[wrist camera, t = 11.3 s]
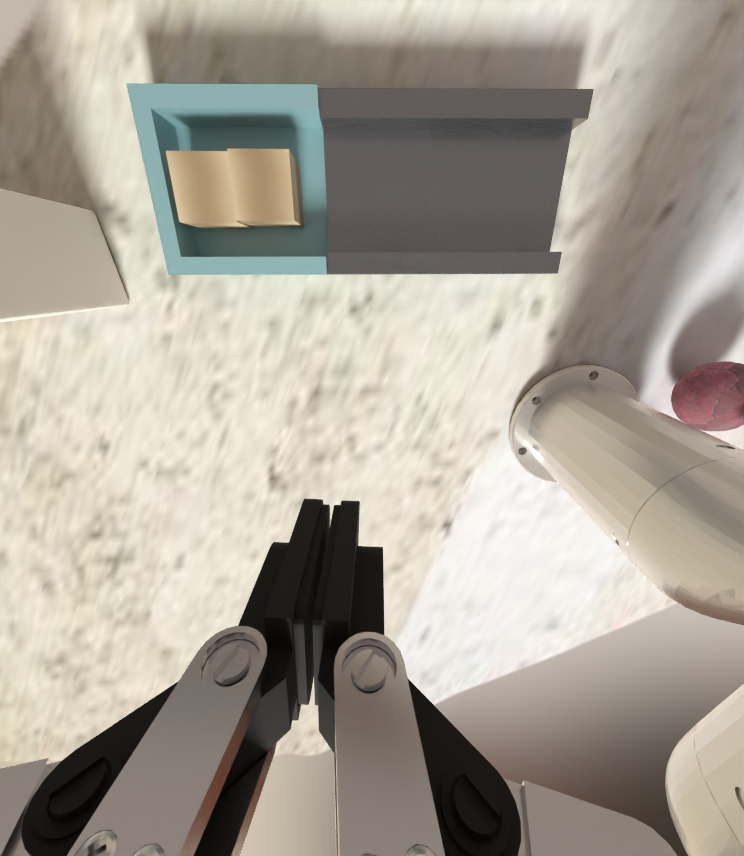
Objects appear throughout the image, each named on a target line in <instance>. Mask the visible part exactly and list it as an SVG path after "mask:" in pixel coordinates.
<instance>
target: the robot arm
mask: <svg viewBox="0 0 744 856" xmlns="http://www.w3.org/2000/svg"><path fill="white" fill-rule="evenodd" d="M533 398H534V399H533ZM509 440H510V446H511V449H512V452H513V454H514V456H515V458H516V459H517V460H518V462H519V463H520V464H521V465H522V466H523V468H524V469H525V470H526V471H527V472H529V473H531V474H532V475H534V476H535V477H538V478H540V479H543V480H546V481H552V482H558V483H559V484H560V485H561V486H562V487H563V488H564V489H565V491H566V492H567V493H568V494H569V495H570V496H571V497H572V498H573V499H574V500H575V501H576V502H577V503H578V505H579V506H580V507H581V508H582V509H583V510H584V511H585V512H586V513H587V514H588V515H589V516H590V517H591V518H592V520H593V521H594V522H595V523H596V524H597V525H598V526H599V527H600V528H601V529H602V530H603V531H604V532H605V534H606V535H607V536H608V537H609V538H610V539H611V540H612V541H613V542H614V543H615V544H616V545H617V546H618V547H619V549H620V550H621V551H622V552H623V553H624V554H625V555H626V556H627V557H628V558H629V559H630V560H631V561H632V563H633V564H634V565H635V566H636V567H637V568H638V569H639V570H640V571H641V572H642V573H643V574H644V575H645V576H646V577H647V578H648V579H649V580H650V581H651V582H652V583H653V584H654V585H655V586H656V587H657V588H658V589H659V590H660V591H662V592H663V593H664V594H666V595H667V596H668V597H669V598H671V599H673V600H674V601H676V602H677V603H679V604H681V605H683V606H684V607H686V608H688V609H691V610H693V611H695V612H698V613H700V614H703V615H706V616H709V617H712V618H716V619H719V620H724V621H728V622H732V623H736V624H741V625H744V450H742V449H740V448H737V447H735V446H733V445H731V444H729V443H727V442H724V441H722V440H720V439H718V438H716V437H714V436H711V435H709V434H707V433H705V432H703V431H700V430H698V429H696V428H694V427H692V426H690V425H687V424H685V423H683V422H681V421H679V420H677V419H674V418H672V417H670V416H668V415H666V414H664V413H661V412H659V411H657V410H655V409H653V408H651V407H648V406H646V405H644V404H642V403H640V402H639V398H638V394H637V393H636V391H635V389H634V387H633V385H632V384H631V383H630V382H629V381H628V380H627V379H626V378H625V377H623V376H622V375H620V374H619V373H617V372H615V371H612V370H610V369H607V368H604V367H600V366H595V365H578V366H573V367H568V368H565V369H562V370H559V371H556V372H554V373H552V374H551V375H549V376H547V377H545V378H543V379H542V380H541V381H539V382H538V383H537V384H536V385H534V386H533V387H532V388H531V389H530V390H529V391H528V392H527V393H526V394H525V395H524V397H523V398H522V400H521V401H520V403H519V404H518V406H517V408H516V410H515V412H514V414H513V416H512V420H511V424H510V430H509ZM359 505H360V502H359V501H342V502H341V505H334V510H333V515H332V520H331V525H330V507H329V505H323V500H319V499H304V501H303V503H302V506H301V509H300V512H299V515H298V518H297V521H296V524H295V527H294V530H293V533H292V536H291V539H290V542H289V543H280V542H274V543H273V544H272V545H271V547H270V549H269V552H268V554H267V556H266V559H265V561H264V564H263V566H262V569H261V571H260V574H259V576H258V579H257V581H256V584H255V586H254V588H253V591H252V593H251V596H250V598H249V601H248V603H247V606H246V608H245V611H244V613H243V616H242V618H241V620H240V623H239V625H238V626H235V627H231V628H227V629H225V630H223V631H221V632H219V633H217V634H215V635H214V636H213V637H211V638H210V639H209V640H208V641H206V642H205V644H204V645H203V646H202V647H201V649H200V650H199V651H198V652H197V654H196V655H195V657H194V659H193V660H192V662H191V663H190V665H189V666H188V668H187V669H186V671H185V673H184V674H183V676H182V677H181V679H180V680H179V681H178V682H177V683H175V684H174V685H172V686H171V687H169V688H168V689H166V690H165V691H163V692H162V693H160V694H159V695H157V696H156V697H154V698H153V699H151V700H150V701H148V702H147V703H145V704H144V705H142V706H141V707H139V708H138V709H136V710H135V711H133V712H132V713H130V714H129V715H127V716H126V717H124V718H123V719H121V720H120V721H118V722H117V723H115V724H114V725H112V726H111V727H109V728H108V729H106V730H105V731H103V732H102V733H100V734H99V735H97V736H96V737H94V738H93V739H91V740H90V741H88V742H87V743H85V744H84V745H82V746H81V747H79V748H78V749H76V750H75V751H74V752H73V753H71V754H70V755H69V756H68V757H66V758H65V759H64V760H63V761H59V762H55V763H51V761H50V759H49V758H47V759H43V760H38V761H34V762H29V763H25V764H20V765H16V766H11V767H7V768H2V769H0V856H240V853H241V850H242V847H243V844H244V841H245V838H246V835H247V832H248V829H249V827H250V824H251V821H252V818H253V815H254V812H255V809H256V806H257V803H258V800H259V797H260V794H261V791H262V788H263V786H264V783H265V780H266V777H267V774H268V771H269V768H270V765H271V762H272V759H273V756H274V753H275V749H276V744H277V741H278V740H280V739H281V738H282V737H283V736H284V735H285V734H286V733H287V732H288V731H289V730H290V729H291V723H292V720H298V718H299V712H300V707H301V704H305V705H308V704H309V701H310V696H311V690H312V683H313V677H314V686H315V705H318V712H319V731H320V733H321V734H322V736H323V737H324V739H325V740H326V742H327V743H328V745H329V746H330V748H331V749H332V751H333V752H334V783H335V823H336V824H335V825H336V856H677V855H676V853H675V852H674V851H673V849H672V848H671V847H670V845H669V844H668V843H667V842H666V841H665V840H664V839H663V838H661V836H659V835H658V834H657V833H656V832H655V831H654V830H653V829H652V828H651V827H649V826H647V825H645V824H643V823H642V822H640V821H638V820H636V819H634V818H631V817H628V816H626V815H623V814H620V813H617V812H614V811H611V810H608V809H606V808H603V807H600V806H597V805H594V804H590V803H588V802H585V801H582V800H579V799H576V798H574V797H571V796H567V795H565V794H562V793H559V792H556V791H553V790H550V789H547V788H544V787H542V786H539V785H536V784H533V783H530V782H527V781H523V783H522V785H520V784H517V783H514V782H512V781H509V780H505V779H503V778H502V777H501V775H500V774H499V773H498V771H497V770H496V769H495V768H494V767H493V766H492V765H491V764H490V763H489V762H488V761H487V760H486V759H485V758H484V757H483V756H482V755H481V754H480V753H479V751H477V750H476V748H475V747H473V745H472V744H471V743H470V742H469V741H468V740H467V739H466V738H465V737H464V736H463V735H462V734H461V733H460V732H459V731H458V730H457V729H456V728H455V727H454V726H453V725H452V724H451V723H450V722H449V721H448V720H447V718H446V717H445V716H444V715H443V714H442V713H441V712H440V711H439V710H438V709H437V708H436V707H435V706H434V705H433V704H432V703H431V702H430V701H429V700H428V699H427V698H426V697H425V696H424V695H423V694H422V693H421V692H420V691H419V690H418V689H417V688H416V687H415V686H414V684H413V683H412V682H411V681H410V680H409V679H408V678H407V674H406V669H405V664H404V660H403V658H402V655H401V652H400V650H399V649H398V647H397V646H396V645H395V643H394V642H393V641H391V640H390V639H389V638H387V637H386V636H384V589H383V547H365V546H358V533H359ZM665 785H666V794H667V800H668V805H669V809H670V813H671V816H672V819H673V822H674V825H675V827H676V830H677V832H678V834H679V836H680V839H681V841H682V843H683V846H684V848H685V850H686V852H687V854H688V856H744V684H743V685H742V686H741V687H740V688H738V689H737V690H736V691H735V692H734V693H733V694H731V695H730V696H729V697H728V698H727V699H725V700H724V701H723V702H722V703H721V704H719V705H718V706H717V707H716V708H715V709H714V710H712V711H711V712H710V713H709V714H708V715H707V716H706V717H704V718H703V719H702V720H701V721H699V722H698V723H697V724H696V725H695V726H694V727H693V728H692V729H691V730H690V731H688V733H687V734H686V735H685V736H684V737H683V738H682V739H681V740H680V741H679V743H678V744H677V745H676V747H675V749H674V750H673V752H672V755H671V757H670V759H669V762H668V765H667V770H666V784H665Z"/></svg>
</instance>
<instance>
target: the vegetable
mask: <svg viewBox="0 0 744 856" xmlns="http://www.w3.org/2000/svg"><path fill="white" fill-rule="evenodd" d="M671 402H672V407H673V410H674V412H675V414H676V415H677V417H678V418H679V419H680V420H681V421H683V422H684V423H686V424H688V425H690V426H692V427H694V428H696V429H699V430H704V431H726V430H731V429H735V428H737V427H740V426H742V425H744V364H740V363H734V362H715V363H709V364H706V365H702V366H699V367H697V368H695V369H693V370H691V371H689V372H688V373H686V374H685V375H684V376H683V377H682V378H681V379H680V380H679V381H678V382H677V383H676V385H675V387H674V389H673V391H672V396H671Z"/></svg>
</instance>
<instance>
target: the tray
mask: <svg viewBox="0 0 744 856" xmlns="http://www.w3.org/2000/svg"><path fill="white" fill-rule="evenodd" d="M127 88H128V93H129V97H130V102H131V106H132V111H133V116H134V120H135V125H136V129H137V134H138V138H139V143H140V147H141V152H142V156H143V161H144V165H145V170H146V175H147V179H148V184H149V188H150V193H151V197H152V202H153V206H154V211H155V215H156V220H157V224H158V229H159V234H160V238H161V243H162V247H163V252H164V256H165V261H166V265H167V270H168V274H169V275H276V274H328V273H327V254H326V252H329V243H328V222H327V201H326V180H325V159H324V138H323V127H322V124H321V121H320V115H319V94H318V85H317V84H127ZM227 149H289V150H290V152H291V153H292V155H293V157H294V158H295V160H296V161H297V163H298V165H299V166H300V178H301V193H302V207H303V222H304V228H297V227H254V229H202V228H199V227H195V226H192V225H188V224H185V223H181V222H179V217H178V212H177V207H176V202H175V197H174V192H173V186H172V181H171V176H170V171H169V166H168V161H167V155H166V151H227Z"/></svg>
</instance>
